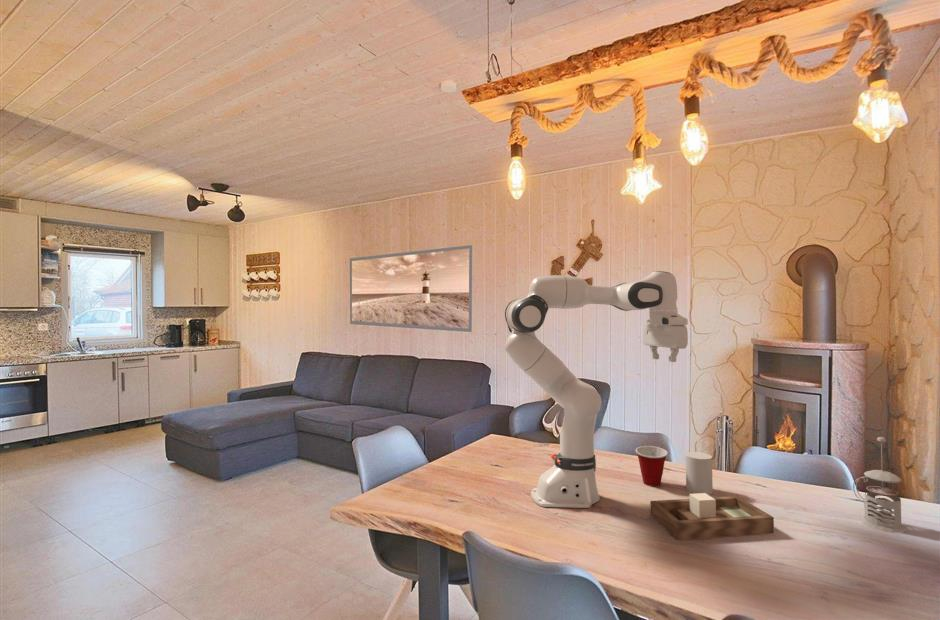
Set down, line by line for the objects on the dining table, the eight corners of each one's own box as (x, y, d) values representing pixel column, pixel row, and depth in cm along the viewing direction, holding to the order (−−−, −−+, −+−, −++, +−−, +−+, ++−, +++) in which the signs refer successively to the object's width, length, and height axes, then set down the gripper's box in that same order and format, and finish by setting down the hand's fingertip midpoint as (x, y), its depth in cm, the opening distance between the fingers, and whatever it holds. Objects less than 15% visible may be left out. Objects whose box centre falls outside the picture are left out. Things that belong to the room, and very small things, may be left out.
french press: (897, 535, 127) (895, 443, 127) (846, 519, 137) (844, 433, 137) (913, 527, 131) (911, 438, 131) (863, 512, 141) (861, 429, 142)
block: (699, 517, 135) (699, 500, 135) (689, 510, 140) (689, 493, 140) (715, 517, 135) (715, 499, 135) (705, 509, 140) (705, 493, 140)
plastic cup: (635, 487, 164) (634, 453, 164) (636, 476, 174) (635, 444, 174) (668, 491, 160) (668, 456, 160) (667, 480, 170) (667, 447, 170)
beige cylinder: (706, 486, 164) (706, 452, 164) (716, 495, 156) (716, 459, 156) (682, 485, 165) (682, 451, 165) (691, 494, 157) (690, 458, 157)
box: (677, 539, 126) (677, 523, 126) (650, 515, 141) (650, 500, 141) (773, 533, 129) (773, 517, 129) (737, 510, 144) (737, 496, 144)
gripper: (638, 319, 167) (638, 357, 167) (673, 319, 147) (674, 363, 147) (654, 319, 168) (654, 357, 168) (691, 319, 148) (691, 363, 148)
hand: (663, 360), depth 158 cm, fingers open, 8 cm apart
